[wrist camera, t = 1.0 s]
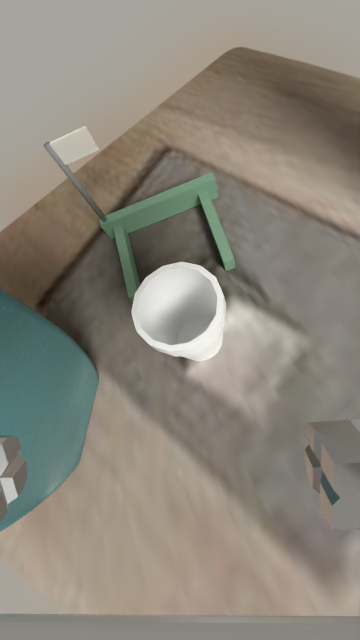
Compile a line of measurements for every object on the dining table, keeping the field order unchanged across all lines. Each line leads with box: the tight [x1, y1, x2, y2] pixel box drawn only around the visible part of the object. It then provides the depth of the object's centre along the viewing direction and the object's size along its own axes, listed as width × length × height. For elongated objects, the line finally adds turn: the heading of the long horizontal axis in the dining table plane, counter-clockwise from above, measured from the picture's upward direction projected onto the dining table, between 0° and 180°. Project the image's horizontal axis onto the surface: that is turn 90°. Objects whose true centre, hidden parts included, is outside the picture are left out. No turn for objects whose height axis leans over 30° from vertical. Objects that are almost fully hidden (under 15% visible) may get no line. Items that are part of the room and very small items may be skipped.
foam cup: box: [131, 262, 226, 361], centre depth 36 cm, size 10×9×13 cm
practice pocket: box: [44, 126, 236, 301], centre depth 39 cm, size 14×19×18 cm
